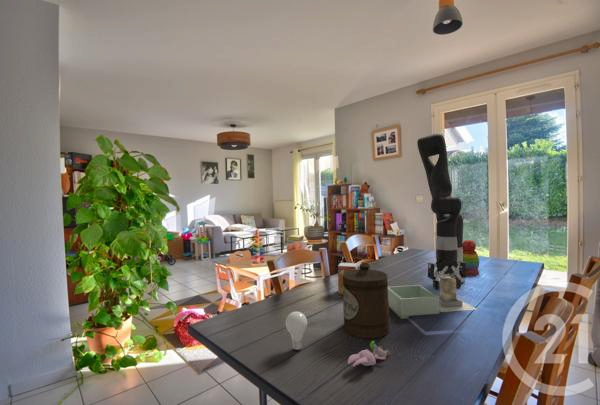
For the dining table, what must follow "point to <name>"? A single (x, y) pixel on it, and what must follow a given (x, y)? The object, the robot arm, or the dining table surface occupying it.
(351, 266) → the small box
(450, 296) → the strut
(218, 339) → the dining table surface
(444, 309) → the socket
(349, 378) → the dining table surface
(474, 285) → the dining table surface
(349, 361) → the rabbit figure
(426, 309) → the bin
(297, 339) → the lightbulb
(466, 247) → the stacking bear
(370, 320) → the wooden container
